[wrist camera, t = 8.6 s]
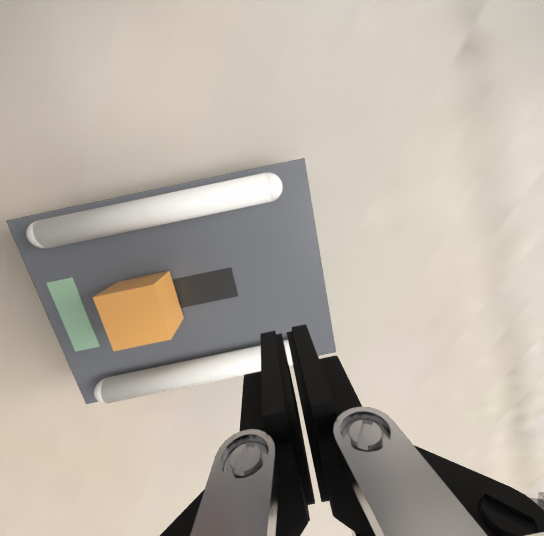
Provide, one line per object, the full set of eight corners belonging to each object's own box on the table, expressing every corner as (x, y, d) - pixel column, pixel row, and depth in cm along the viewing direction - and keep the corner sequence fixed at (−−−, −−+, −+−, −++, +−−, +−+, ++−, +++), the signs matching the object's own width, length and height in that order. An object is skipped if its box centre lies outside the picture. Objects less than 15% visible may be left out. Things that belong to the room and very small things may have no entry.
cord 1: (278, 170, 21) (280, 168, 19) (283, 198, 21) (286, 199, 19) (35, 221, 21) (13, 224, 19) (46, 248, 21) (25, 253, 19)
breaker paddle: (169, 270, 22) (153, 284, 18) (183, 318, 23) (170, 339, 19) (118, 281, 22) (92, 297, 18) (134, 328, 23) (113, 351, 19)
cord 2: (308, 330, 24) (312, 342, 22) (312, 351, 25) (316, 365, 23) (98, 374, 24) (84, 390, 22) (107, 394, 25) (94, 411, 23)
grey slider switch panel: (293, 166, 26) (304, 157, 21) (321, 322, 30) (336, 352, 25) (61, 215, 26) (4, 220, 21) (118, 364, 30) (85, 404, 25)
